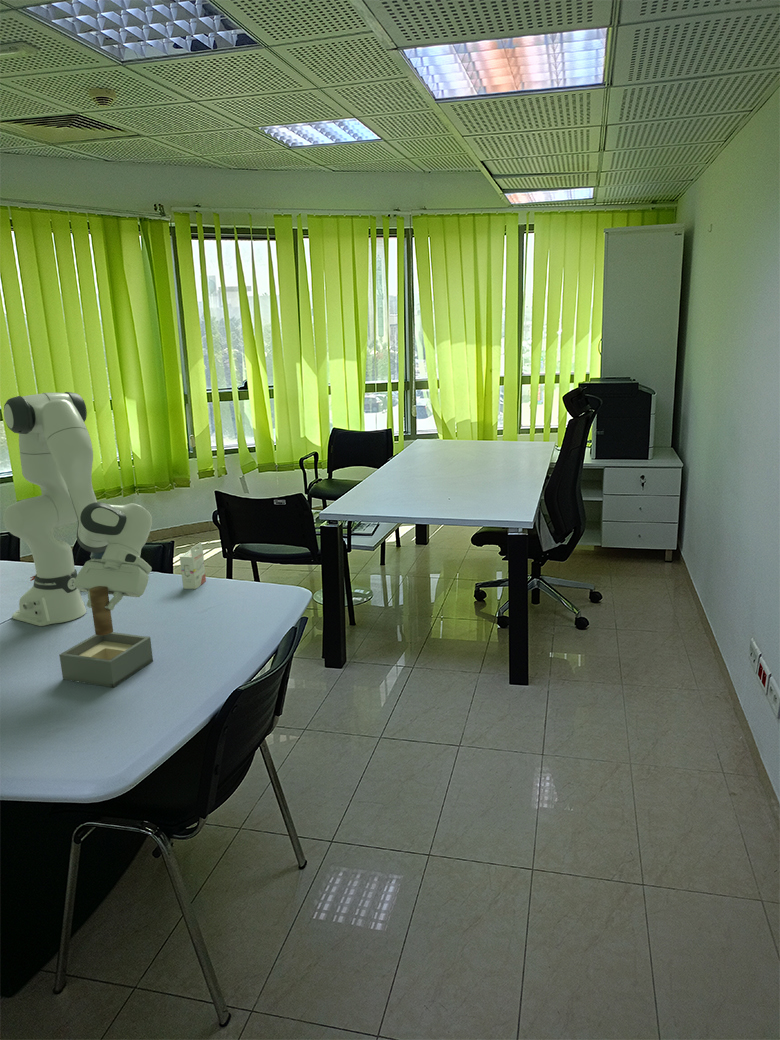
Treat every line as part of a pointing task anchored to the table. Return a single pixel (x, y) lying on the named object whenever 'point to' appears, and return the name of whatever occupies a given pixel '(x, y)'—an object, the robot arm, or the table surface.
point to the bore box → (106, 659)
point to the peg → (101, 610)
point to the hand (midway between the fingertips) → (99, 608)
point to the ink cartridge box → (193, 568)
